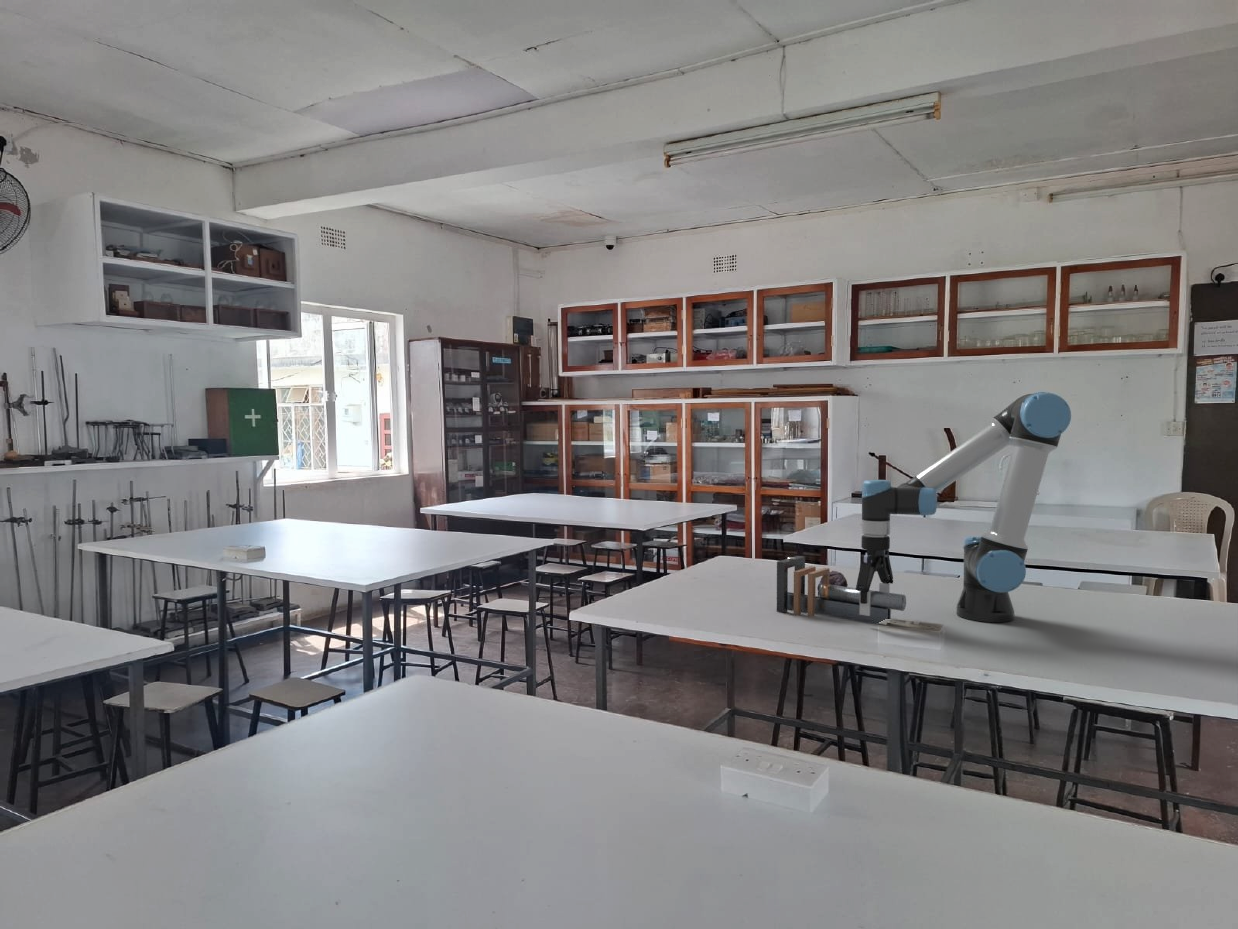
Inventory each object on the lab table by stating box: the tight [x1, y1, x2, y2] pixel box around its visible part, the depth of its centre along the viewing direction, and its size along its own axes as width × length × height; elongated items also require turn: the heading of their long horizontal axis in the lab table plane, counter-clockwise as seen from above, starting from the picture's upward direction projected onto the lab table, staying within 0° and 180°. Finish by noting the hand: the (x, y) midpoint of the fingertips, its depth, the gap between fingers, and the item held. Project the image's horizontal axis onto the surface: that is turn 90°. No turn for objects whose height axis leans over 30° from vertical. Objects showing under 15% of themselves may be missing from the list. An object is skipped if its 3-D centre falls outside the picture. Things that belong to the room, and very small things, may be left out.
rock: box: [816, 570, 849, 597], centre depth 249 cm, size 12×9×10 cm
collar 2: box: [807, 567, 831, 618], centre depth 233 cm, size 2×11×12 cm, turn 140°
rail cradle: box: [788, 591, 892, 624], centre depth 230 cm, size 32×3×4 cm, turn 50°
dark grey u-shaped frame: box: [776, 555, 806, 614], centre depth 239 cm, size 2×13×15 cm, turn 140°
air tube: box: [819, 584, 907, 612], centre depth 225 cm, size 24×4×4 cm, turn 50°
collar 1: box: [793, 565, 817, 615], centre depth 236 cm, size 2×11×12 cm, turn 140°
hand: (874, 610), depth 222 cm, fingers open, 13 cm apart
